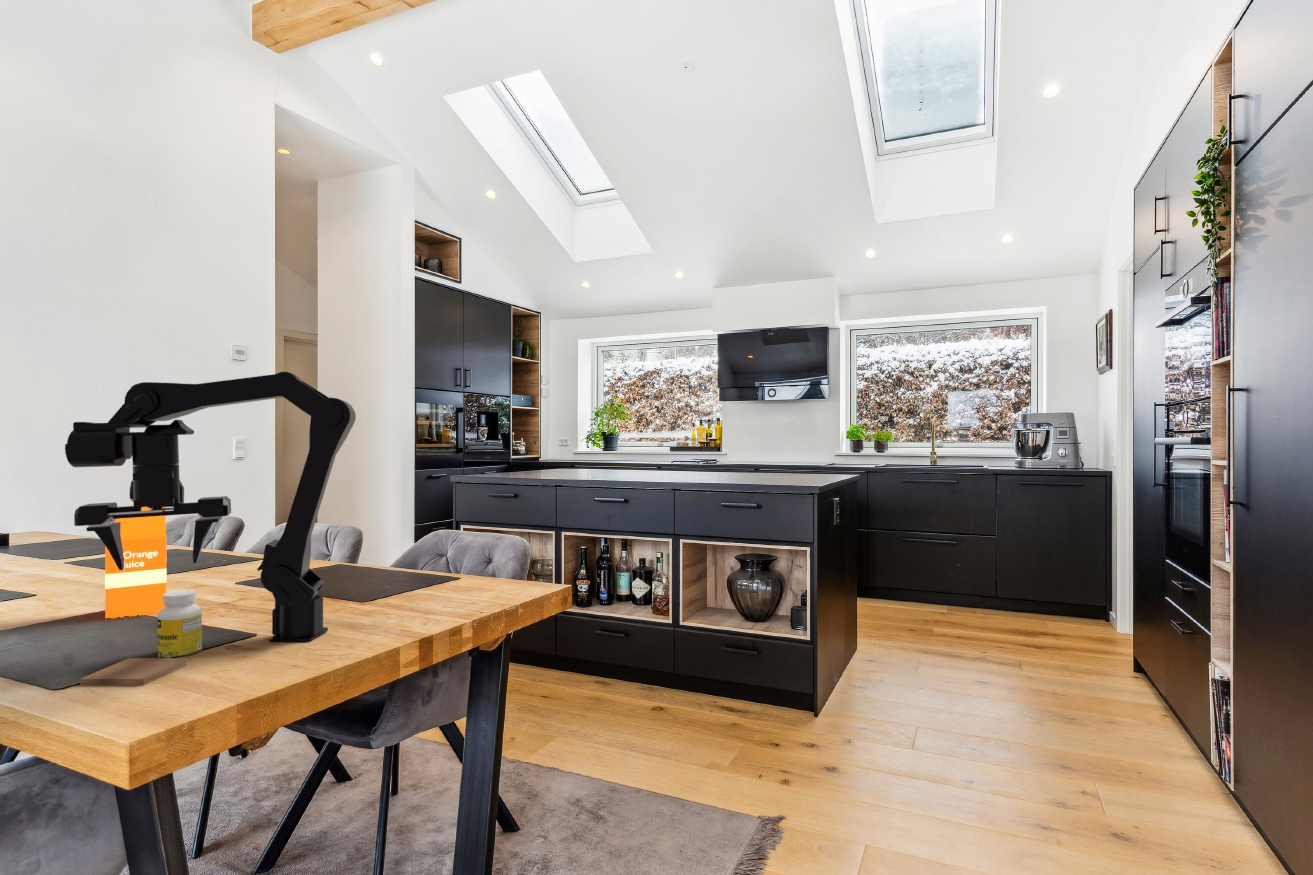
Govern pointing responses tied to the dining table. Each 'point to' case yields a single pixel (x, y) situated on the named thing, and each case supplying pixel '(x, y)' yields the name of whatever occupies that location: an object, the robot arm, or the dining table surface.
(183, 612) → the supplement bottle
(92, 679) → the walnut slab
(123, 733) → the dining table surface
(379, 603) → the dining table surface
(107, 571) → the orange juice
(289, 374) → the robot arm
